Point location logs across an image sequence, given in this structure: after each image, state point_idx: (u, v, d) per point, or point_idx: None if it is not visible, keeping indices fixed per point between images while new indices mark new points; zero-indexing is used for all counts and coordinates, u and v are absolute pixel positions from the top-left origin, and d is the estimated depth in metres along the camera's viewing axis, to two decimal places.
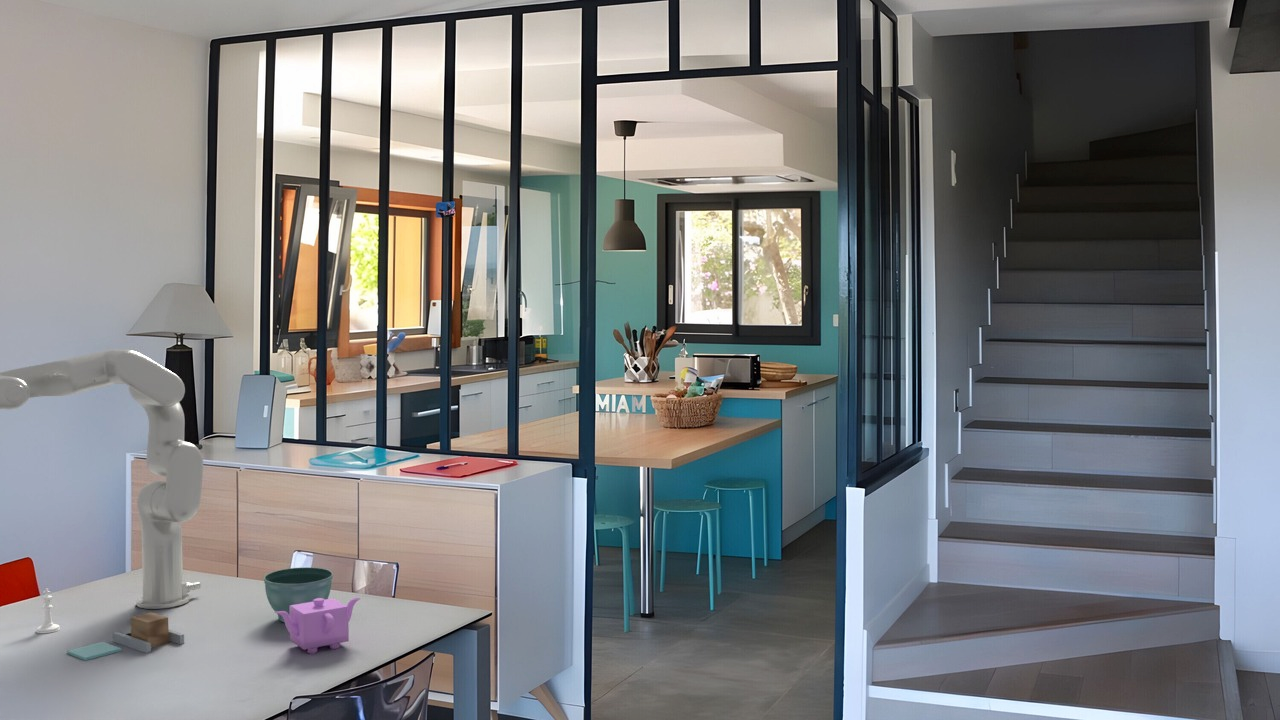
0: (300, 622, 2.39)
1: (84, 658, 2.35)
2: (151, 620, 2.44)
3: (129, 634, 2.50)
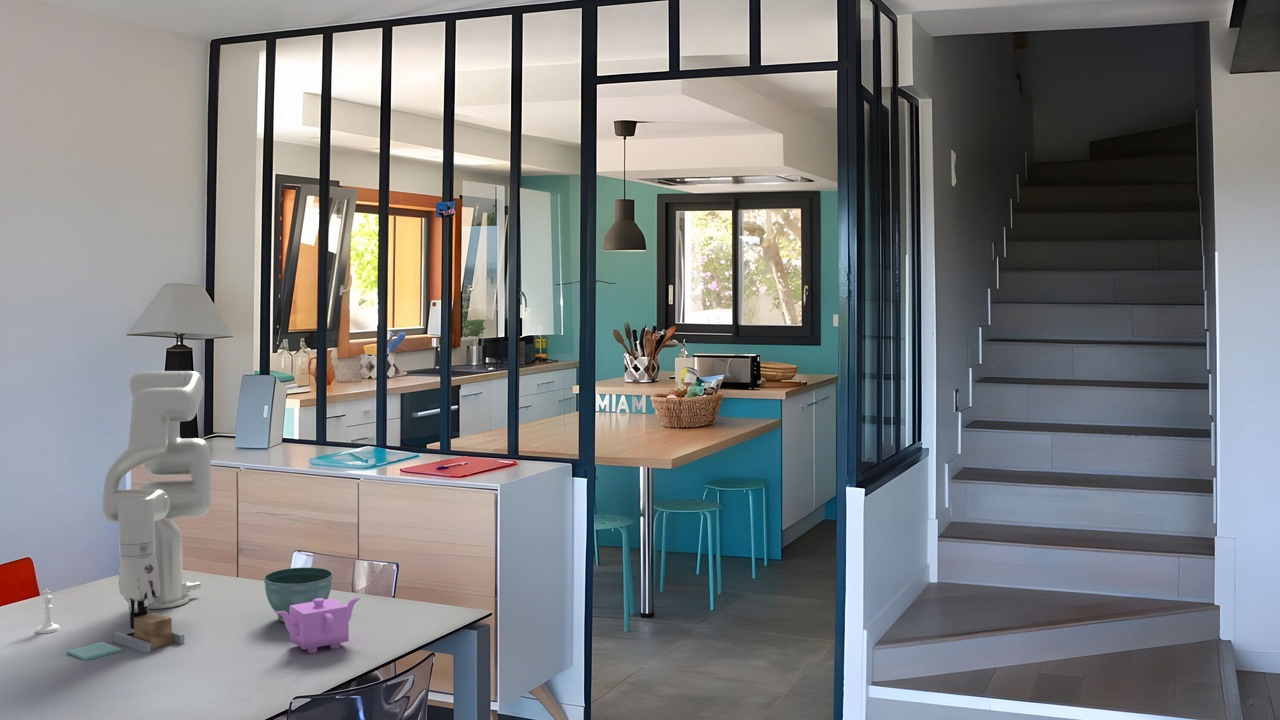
0: (300, 622, 2.39)
1: (84, 658, 2.35)
2: (154, 620, 2.43)
3: (129, 634, 2.50)
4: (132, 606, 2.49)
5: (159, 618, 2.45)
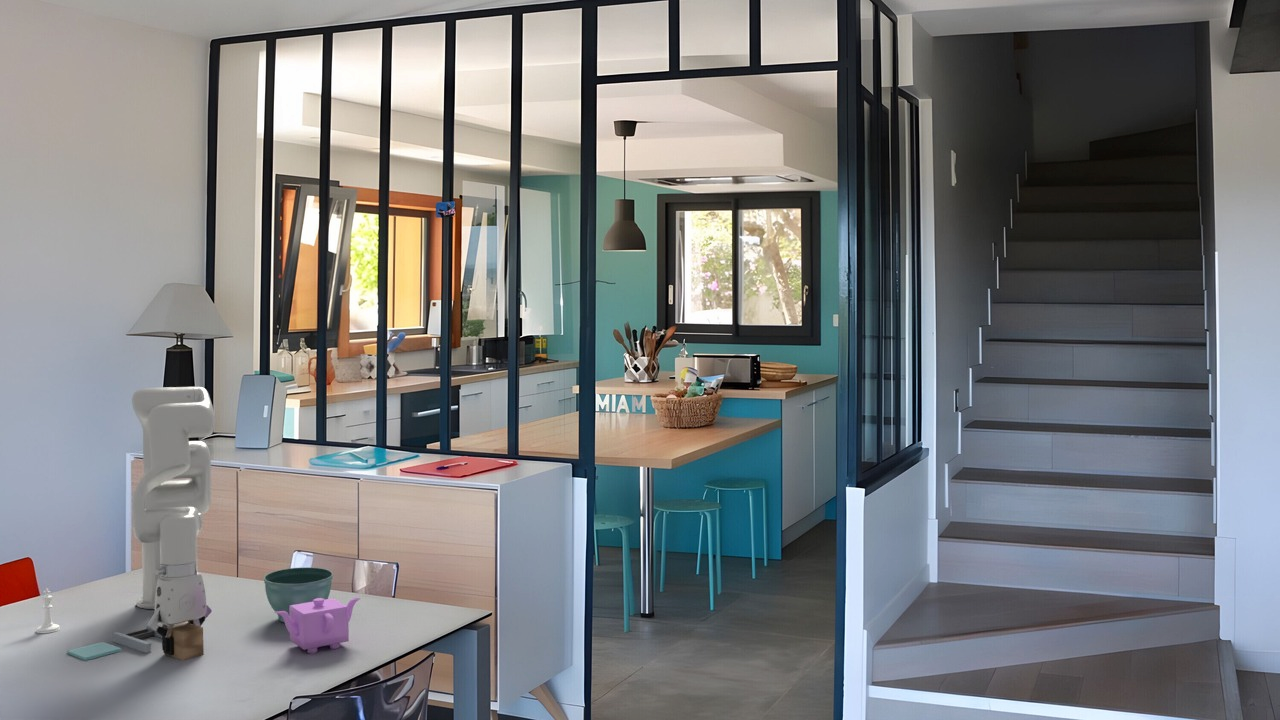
0: (300, 622, 2.39)
1: (84, 658, 2.35)
2: (186, 630, 2.36)
3: (129, 634, 2.50)
4: None
5: (190, 628, 2.38)
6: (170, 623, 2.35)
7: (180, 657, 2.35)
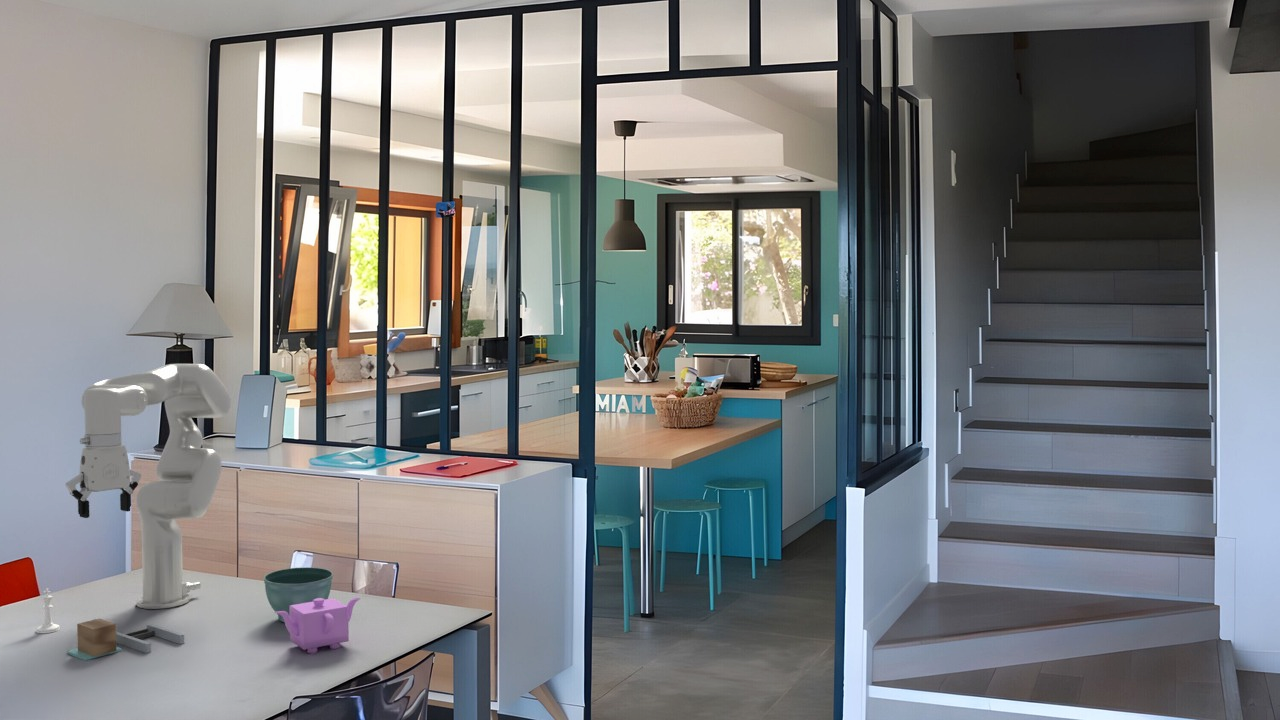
0: (300, 622, 2.39)
1: (84, 658, 2.35)
2: (98, 627, 2.37)
3: (129, 634, 2.50)
4: (122, 491, 2.57)
5: (103, 624, 2.39)
6: (94, 490, 2.47)
7: (92, 653, 2.36)
